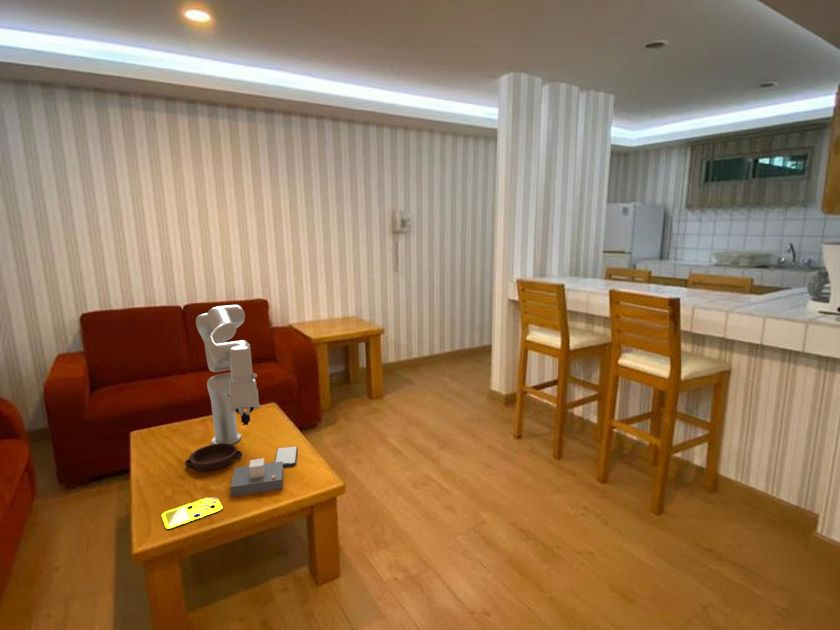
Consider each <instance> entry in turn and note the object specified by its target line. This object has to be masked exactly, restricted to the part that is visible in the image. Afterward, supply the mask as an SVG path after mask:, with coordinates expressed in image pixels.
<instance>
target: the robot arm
mask: <svg viewBox="0 0 840 630" xmlns="http://www.w3.org/2000/svg"><path fill="white" fill-rule="evenodd" d="M245 319H246V314H245V311H244V309H243V307H242V306H241V305H239V304H229V305H228V304H227V305H218V306H215V307H214V306H213V307H212V308H210V309H209V310H208V311H207V312H205V313H201V314H199V315H198V316H196V318H195V326H196V329H197V331H198V333H199V335H200V336H201V339H202V340H203V344H204V348H205V349H204V350H205V356H206V362H207V363H206V364H207V367H208V369H209V371H210V372H212V373H217V372H222V371H223V372H225V371H229V370H230V372H227V373H219V374H216V375H215V374H214V375H213V376H210V377H209V378H208V380H207V381H206V385H207V387H206V388H207V391H208V394H209V398H210V403H211V404H210V405H211V414H212V419H213V420H212V422H213V423H212V424H213V430H214V437H212V438H211V445H213V444H220V443H226V444H232V445H234V444H237V442H239V441H241V439H242V434H241V433H240V432H238V429H237V428H238V426H237V417H236V413H237V414H238V415H239V416H240V419H241V420H240V422H241V423H243V425H242V426H249V423H250V422H251V413H252V412H253V411H254V410H258V409H260V402H259V400H260V399H259V391H258V386H257V385H258V384H257V382H256V381H257V380H256V378H258V374H257V373H254V372H253V363H252V351H251V349H252V348H251V344H250V343H249V342H248V341H247V340H245V339H240V340H234V341H229V340H231V339H233V337H234V336H235V334H236V333H237V328H239V327H240V326H242V325H243V324H244V322H245ZM244 409H246V411H244Z"/></svg>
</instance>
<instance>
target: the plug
mask: <svg viewBox="0 0 840 630" xmlns="http://www.w3.org/2000/svg"><path fill="white" fill-rule="evenodd" d="M265 464H266V462H265V458H264V457H262V458H256V459H251V460H250V461H249V465H248V466H249V470H250V478H256V477H262V476H264V474H265Z"/></svg>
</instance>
